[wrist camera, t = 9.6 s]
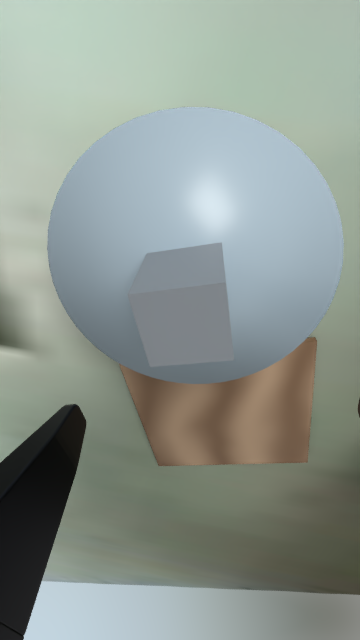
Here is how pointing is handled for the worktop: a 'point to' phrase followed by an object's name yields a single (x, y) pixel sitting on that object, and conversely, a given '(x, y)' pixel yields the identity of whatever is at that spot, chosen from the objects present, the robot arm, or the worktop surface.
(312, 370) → the board
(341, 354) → the worktop surface
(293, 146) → the lid
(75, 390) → the worktop surface
